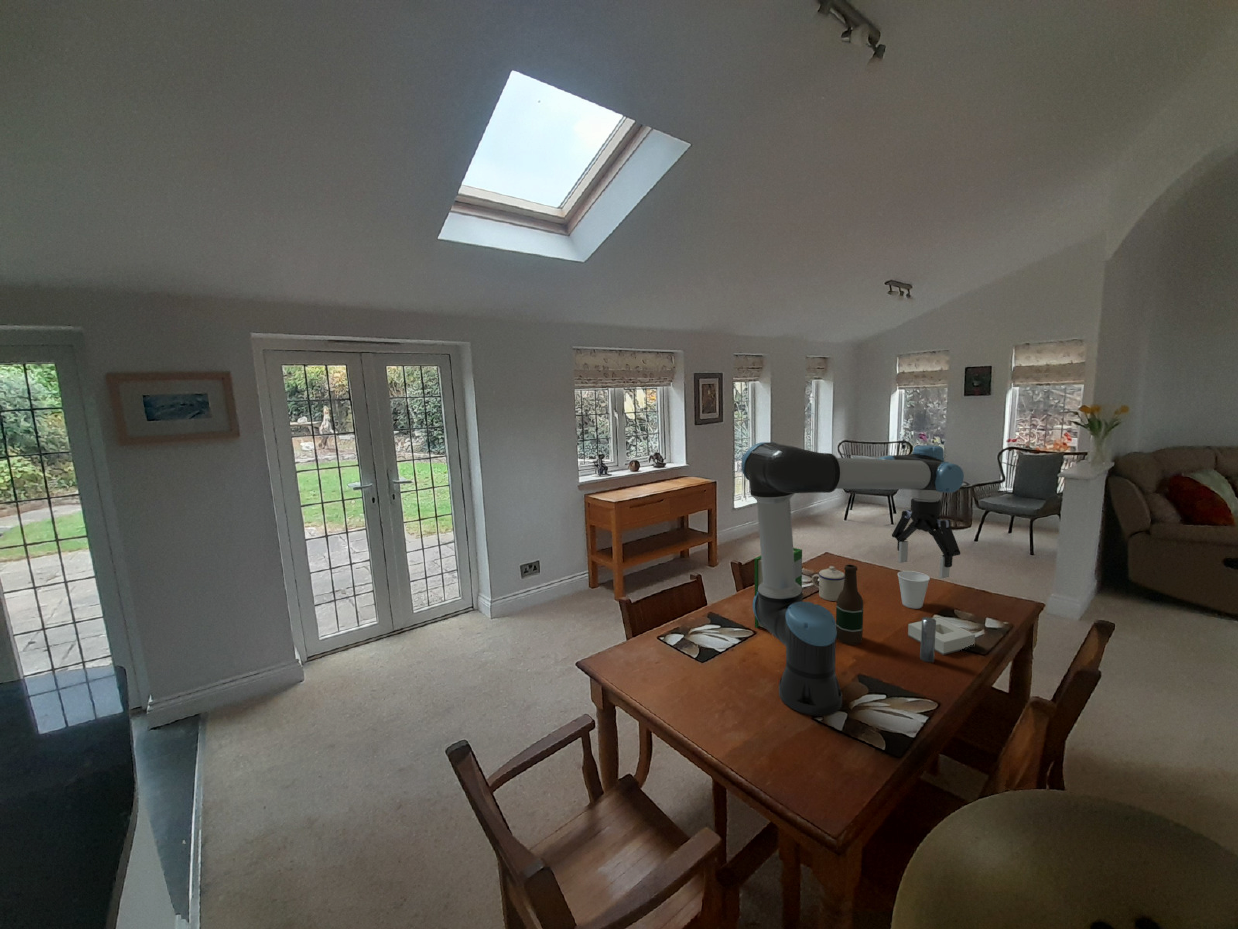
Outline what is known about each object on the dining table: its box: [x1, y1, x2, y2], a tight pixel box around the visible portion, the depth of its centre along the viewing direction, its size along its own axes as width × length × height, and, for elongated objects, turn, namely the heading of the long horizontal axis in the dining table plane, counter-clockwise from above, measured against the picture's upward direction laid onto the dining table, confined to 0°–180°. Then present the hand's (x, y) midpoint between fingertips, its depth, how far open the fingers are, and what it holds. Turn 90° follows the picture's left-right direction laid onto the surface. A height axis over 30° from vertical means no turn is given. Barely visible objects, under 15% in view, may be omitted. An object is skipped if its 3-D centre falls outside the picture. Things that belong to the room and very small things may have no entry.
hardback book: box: [753, 547, 803, 629], centre depth 165 cm, size 18×7×24 cm, turn 133°
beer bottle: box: [835, 563, 864, 646], centre depth 152 cm, size 8×8×24 cm
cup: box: [897, 570, 931, 610], centre depth 173 cm, size 10×10×11 cm
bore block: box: [907, 617, 976, 656], centre depth 149 cm, size 12×12×4 cm
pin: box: [919, 616, 936, 663], centre depth 140 cm, size 3×3×12 cm
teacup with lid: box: [811, 565, 845, 602], centre depth 185 cm, size 12×9×12 cm
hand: (922, 569), depth 145 cm, fingers open, 13 cm apart
